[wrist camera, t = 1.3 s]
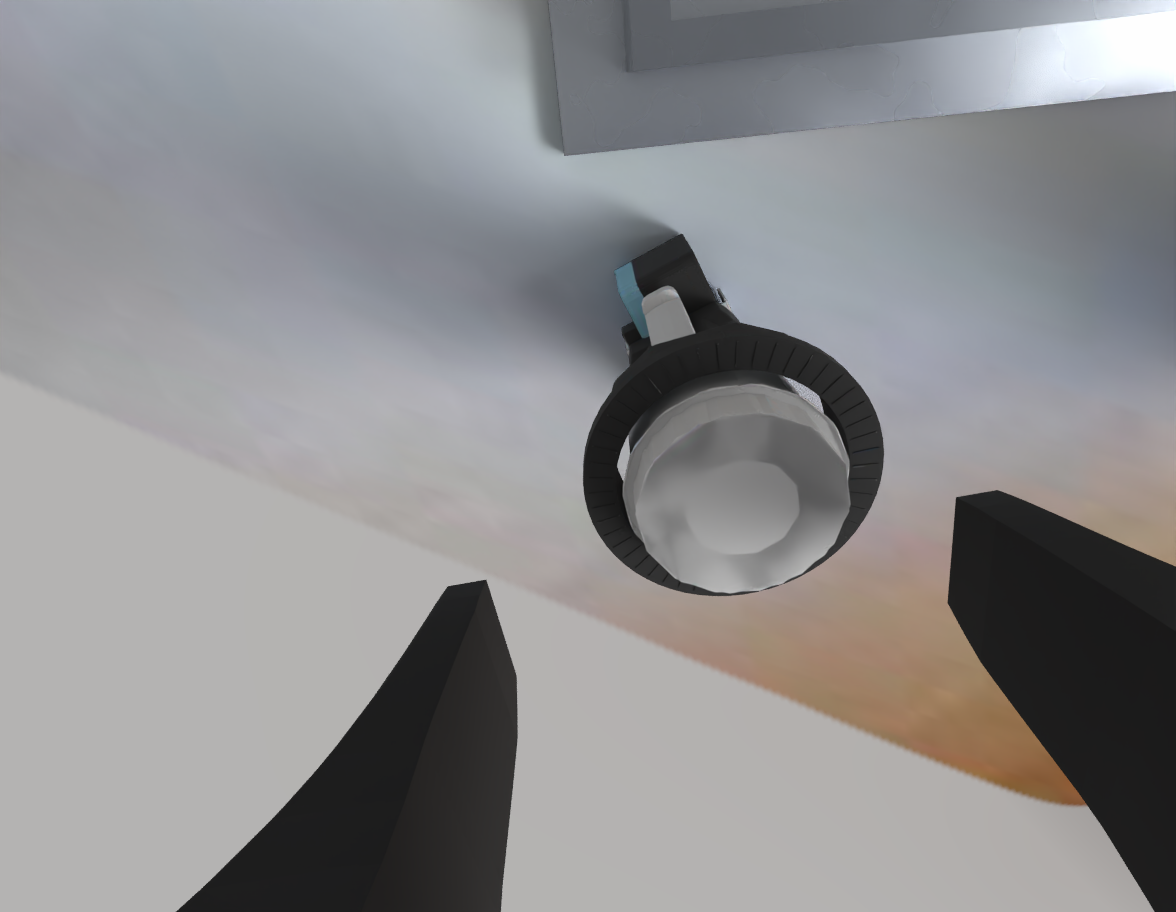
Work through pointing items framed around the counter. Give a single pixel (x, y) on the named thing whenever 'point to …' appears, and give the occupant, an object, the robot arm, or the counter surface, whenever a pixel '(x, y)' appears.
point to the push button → (724, 442)
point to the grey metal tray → (838, 62)
